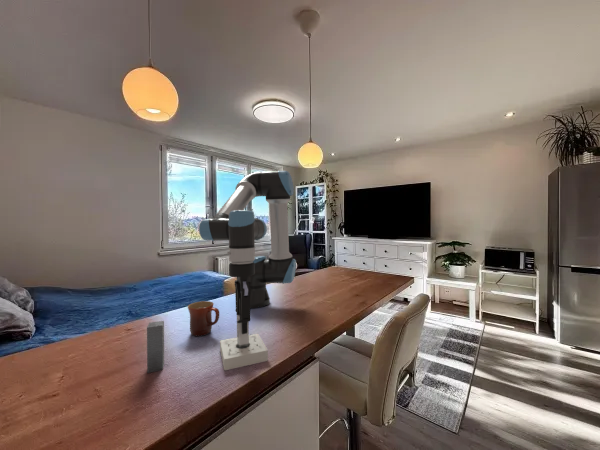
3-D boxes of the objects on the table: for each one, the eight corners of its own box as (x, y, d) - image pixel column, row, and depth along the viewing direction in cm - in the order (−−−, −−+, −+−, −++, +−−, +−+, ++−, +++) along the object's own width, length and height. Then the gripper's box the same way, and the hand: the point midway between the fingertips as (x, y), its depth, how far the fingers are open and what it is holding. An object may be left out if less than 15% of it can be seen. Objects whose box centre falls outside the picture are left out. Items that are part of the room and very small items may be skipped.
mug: (182, 336, 87) (181, 307, 87) (199, 326, 96) (199, 300, 96) (210, 341, 83) (210, 310, 83) (226, 330, 92) (225, 303, 92)
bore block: (220, 350, 77) (220, 340, 77) (258, 342, 82) (258, 333, 82) (224, 370, 66) (224, 359, 66) (267, 360, 71) (267, 350, 71)
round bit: (236, 354, 75) (236, 314, 75) (247, 351, 76) (246, 312, 76) (238, 359, 72) (237, 317, 72) (249, 356, 73) (248, 316, 73)
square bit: (149, 366, 69) (149, 322, 69) (164, 363, 70) (164, 320, 70) (147, 373, 65) (146, 327, 66) (162, 369, 67) (162, 325, 67)
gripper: (225, 259, 80) (226, 332, 80) (232, 266, 65) (233, 356, 65) (249, 258, 83) (249, 328, 83) (260, 264, 68) (261, 350, 68)
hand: (242, 340), depth 74 cm, fingers closed on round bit, 3 cm apart
